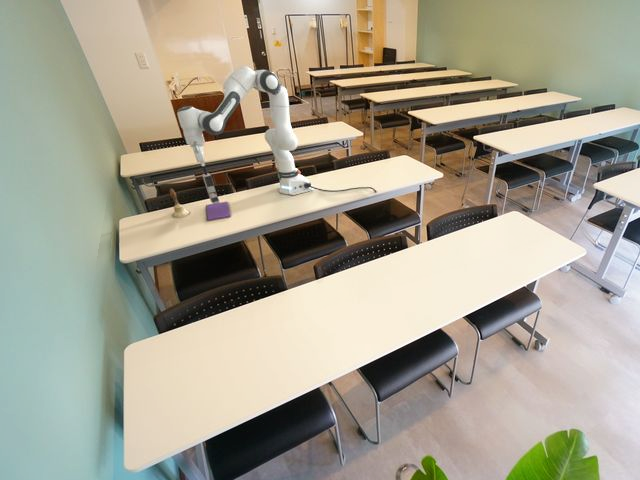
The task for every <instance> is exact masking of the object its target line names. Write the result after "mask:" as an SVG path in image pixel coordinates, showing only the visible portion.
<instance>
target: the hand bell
mask: <svg viewBox="0 0 640 480" xmlns="http://www.w3.org/2000/svg"><path fill="white" fill-rule="evenodd" d="M169 195H170V197H171V198H172V200H173V201H174V204H175V205H174V206H173V210H174V212H173V214H172V216H173V217H175V218H182V217H185V216H187V215H188V214H189V212H190V211H189V210H186V208H185V207H184V206H183V204H181V203H179V201H178V198H177V194H176V192H175V190H174V188H169Z"/></svg>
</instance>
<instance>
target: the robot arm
mask: <svg viewBox="0 0 640 480" xmlns="http://www.w3.org/2000/svg"><path fill="white" fill-rule="evenodd" d="M252 89H255V90H256V91H260V92H263V93H267V95H268V98H269V115H270V120H271V122H272V124H273V126H274V128H269V129H267V130H266V131H265V133H264V140H265V142H266V143H267V144H268V146H269V148H270V150H271V152H272V154H273V156H274V159H275V163H276V164H275V165H276V168H277V171H276V172H277V178H278V180H279V193H281V194H284V195H290V196H295V195H300V194H304V193H308V192H311V191H314V190H316V191H317V190H318V191H320V192H321V191H322V192H327V193H338V192H347V191H351V190H359V189H360V190H361V189H363V190H364V189H365V190H366V189H371V190H373V191H374V193H377V190H376V189H375V188H373V187H371V186H360V187H359V186H358V187H351V188H346V189H337V190H330V189H322V188H319V187H315V186H314V185H313V184H312V183H311V182H310V181H309V179H308V178H307V177H306V176H304V175H302V174H301V173H302V172H301V171H300V170H299V169H298V168H296V165H295V159H294V156H293V155H292V153H291V152H292V151H295V150H296V149H297V148H298V145H299V140H298V138H297V136H296V134H295V132H294V130H293V127H292V125H291V117H290V99H289V95H288V90H287V88H286V87H285V86H283V85H282V84H281V83H280V79H279V77H278V76H277V74H275V72H273V71H271V70H267V69H255V70H252V69H251V68H250V67H249V66H246V65H241V66H239V67H238V68H236V69H235V70H234V71H233V72H232V73H231V74H230V75H229V76H228V77H227V78H226V80H225V81H224V83H223V85H222V92H223V96H224V97H223V99H222V102H221V103H220V104H219V106H218V107H217V108H216V110H215V111H214V112H210V111H206V110H202V109H198V108H195V107H194V106H193V105H186V106H182V107H180V108H178V110H177V113H176V114H177V118H178V122H179V125H180V128H181V129H182V131H183V136H184V137H183V138H184V140H185V143H186V145H188V146H190V148H192V151H193V154H194V157H195V160H196V162H197V163H200V165H201V167H203V166H204V167H206V162H205V151H204V144H205V143H206V140H205V137H204V134H203V132H204V131H205V132H206V134H209V135H211V136H219V135H221V134H222V133H223V132H224V131H225V127H226V123H227V122H228V120H229V118H230V117H231V116H232V114H233V113H234V111H235V110H236V109H237V108H238V106H239V104H240V103H241V102H242V100H243V99H244V98H245V97H246V96H247V95H248V93H249V92H250V91H251V90H252Z"/></svg>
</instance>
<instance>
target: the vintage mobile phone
mask: <svg viewBox="0 0 640 480" xmlns="http://www.w3.org/2000/svg"><path fill="white" fill-rule="evenodd" d="M202 168H203V174H201V176H202V179H203V182H204V185H205V189H206V191H207V195H208V197H209V200H210V202H211V204H216V203H220V199H219V197H218V194H217V191H216V187H215V183H214V180H213V177H212V175H211V174H210V173H209V172H207V169H206V166H202Z"/></svg>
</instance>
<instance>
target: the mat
mask: <svg viewBox="0 0 640 480" xmlns="http://www.w3.org/2000/svg"><path fill="white" fill-rule="evenodd" d="M206 215H207V221H215V220H219V219H220V220H221V219H225V218H231V213H230V208H229V204H228V201H222V202H221V201H220V202H219V203H216V204H213V203H210V204H206Z"/></svg>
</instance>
